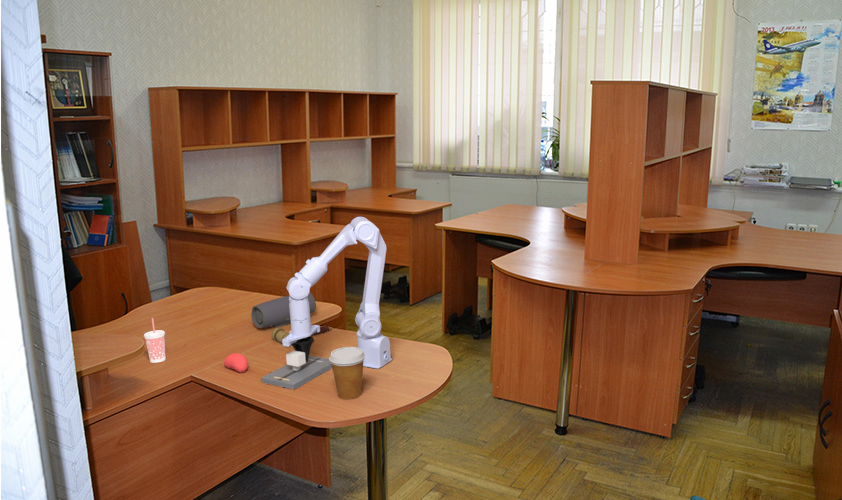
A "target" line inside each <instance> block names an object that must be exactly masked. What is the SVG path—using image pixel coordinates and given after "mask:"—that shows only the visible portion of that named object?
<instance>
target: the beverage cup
mask: <svg viewBox="0 0 842 500" xmlns="http://www.w3.org/2000/svg"><path fill="white" fill-rule="evenodd" d="M151 324H152V330H151V331H150V330H149V331H148V332H144V334H143V337H144V339H145V343H146V347H147V352H148V357H149V362H150V363H153V364H154V363H160V362H161V363H163V362H164V361H166V343H165V341H166V340H165V335H166V332H165V330H161V329H160V330H159V329H158V330H157V329H155V322H154V317H151Z"/></svg>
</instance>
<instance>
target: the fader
mask: <svg viewBox="0 0 842 500" xmlns="http://www.w3.org/2000/svg"><path fill="white" fill-rule="evenodd" d="M285 359H286V360H285V361H286V365H292V366H293V370H295V371H298V370H300V369H301V365H303V364H305V363H306V359H305V353H304V352H299V351H295V350H292V351H290V352H289V351H288V352H287V353H286V354H285Z"/></svg>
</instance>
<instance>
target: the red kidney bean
mask: <svg viewBox="0 0 842 500" xmlns="http://www.w3.org/2000/svg"><path fill="white" fill-rule="evenodd" d="M223 364H224V366H225V367H226V368H228V369H231V370H235V371H236V372H238V373H242V372H243V373H245V372H246V371H247V370H248V368H249V361H248V359H247V357H246V356H245V355H244V354H242V353H239V352H235V353H230V354H229V355H227V356H226V357H225V359H224V361H223Z"/></svg>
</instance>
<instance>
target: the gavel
mask: <svg viewBox="0 0 842 500" xmlns="http://www.w3.org/2000/svg"><path fill="white" fill-rule="evenodd" d="M332 330H333V327H332V326H326V325H325V326H324V325H322V326H320V332H316V333H313V334H312V335H311V336H310V337H313V335H314V336H317V334H318V335H322V334H325V332H326V333H328V332H330V331H332ZM327 331H328V332H327ZM321 333H322V334H321ZM289 334H290V333H289V332H287V331H286V330H285V329H284V328H281V327H275V328H274V329H272V331H271V338H272V340H273V341H275V342H277V341H278V342H279V343H281V344H283V342H282V339H284V338H286V337H287V336H288V335H289ZM291 346H292V345H291V344H290V346H289V347H288V348H292V347H293V346H292V347H291Z"/></svg>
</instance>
